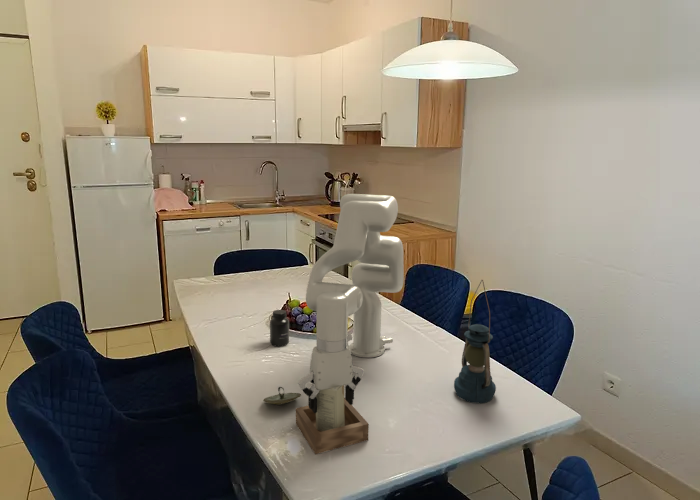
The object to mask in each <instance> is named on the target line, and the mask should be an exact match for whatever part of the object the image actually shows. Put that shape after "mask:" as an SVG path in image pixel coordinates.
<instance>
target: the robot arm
mask: <svg viewBox="0 0 700 500" xmlns="http://www.w3.org/2000/svg"><path fill="white" fill-rule="evenodd" d="M339 207H340V211H339V217H338V222H337V227H336V232H335V236H334V241H333V246H332V247H331V248H330V249H328V250H327V251H326V252H325V253H323V254H322V255H321V256H320V257H319V258H318V260H317V261H316V262H315V263H314V265H313V266H312V267H311V270H310V274H309V278H308V281H307V287H306V292H305V302H306V306H307V307H308V308H309V309H310V310H312V311H313V312H316V346H314V347H313V348H312V351H311V357H310V365H309V372H308V373H307V374H306V375H304V376H303V377H302V378H301V379H299V380H298V381H297V384H298V387H299V388H300V389H301V391H302V392H303V393H304V394H305V395H306V396H307V397H308V400H307V401H308V403H307V404H308V405H309V408H310V409H311V410H312V411H313V412H314V413H317V398H316V397H315V396H316V395H317V394H318V392H319V391H320V390H325V389H329V388H333V387H338V386H343V385H344V397H345V400H346V401H347V402H348V403H349V404H350V405H352V406H353V404H354V399H355V390H356V389H357V386H358V385H359V383H360V382H361V380H362V377H363V375H364V373H365V370H364V369H363V368H362V367H359V366H356V365H353V358H352V357H353V356H356V357H359V358H368V359H369V358H376V357H379V356H381V355H383V354H384V353H385V345H386V344H393V343H394V341H393V338H392V337H387V338H386V336H385V335H384V336H383V335H382V334H381V333H382V332H381V331H382V330H381V329H382V328H381V327H382V301H381V299H380V297H379V295H378V294H377V292H378V293H379V292H380V293H391V294H392V293H394V294H395V293H399V292H401V290H402V288H403V286H404V278H405V277H404V275H405V274H404V273H405V272H404V265H405V264H404V262H405V261H404V245H403V242H402V240H401V239H400V237H397V236H393V235H381V233H386V232H388V231H390V229H392V226H393V225H394V224H395V221H396V220H397V217H398V214H399V213H398V212H399V205H398V201H397V199H396V198H395V197H394V196H392V195H387V194H386V195H384V194H367V193H365V194H364V193H362V194H360V193H346V194H344V195H343V196H341V198H340V200H339ZM356 261H358V262H359V263H357V264H355V265H354V266H353V268H352V271H351V282H352V284H348V283H338V282H328V281H327V282H325V281H324V282H323V280H324V278H325V277H326V275H327V274H328V273H329V272H331V271H332V270H334V269H336V268H339V267H341V266H344V265H348V264H349V263H352V262H356ZM352 315H353V327H352V329H353V331H352V332H353V333H352V334H348V333H349V331H348V325H349V323H348V320H349V319H348V318H349V317H351V316H352ZM381 335H382V336H381ZM350 341H352V343H350V344H349V342H350ZM354 373H355V375H354ZM308 383H311V384H310V386H309V387H307V384H308ZM308 405H307V406H308Z"/></svg>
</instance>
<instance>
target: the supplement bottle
mask: <svg viewBox="0 0 700 500" xmlns="http://www.w3.org/2000/svg"><path fill="white" fill-rule="evenodd" d="M269 343H270V345H271V346H273V347H285V346H287V345H289V343H290V320H289V319H288V318H287V311H286V310H283V309H276V310H273V311H272V318H271V319H270V321H269Z"/></svg>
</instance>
